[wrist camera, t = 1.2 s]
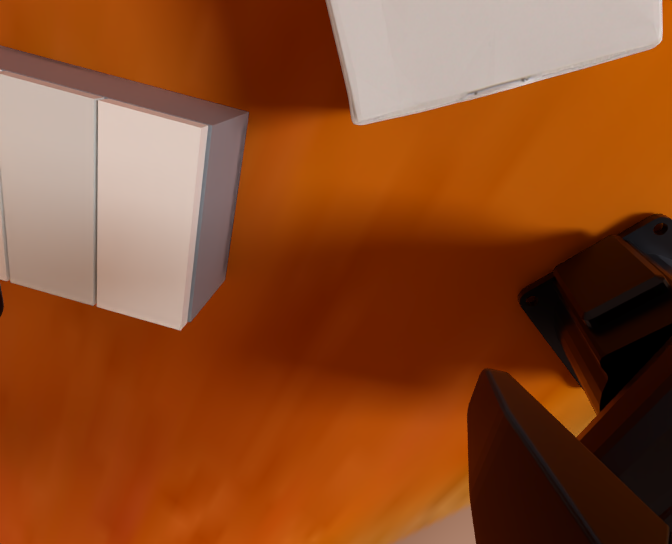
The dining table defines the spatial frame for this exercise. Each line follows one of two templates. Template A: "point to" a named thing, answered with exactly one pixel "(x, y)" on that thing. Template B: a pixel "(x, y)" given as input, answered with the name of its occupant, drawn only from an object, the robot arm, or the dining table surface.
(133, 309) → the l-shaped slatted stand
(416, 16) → the skincare box
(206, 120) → the gray open box
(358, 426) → the dining table surface
